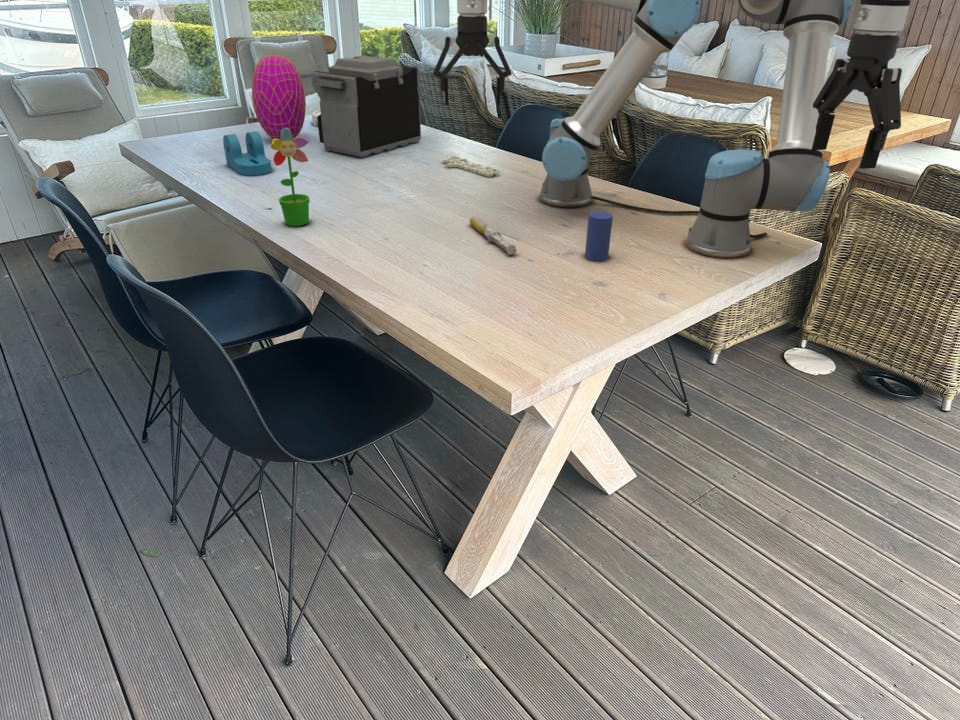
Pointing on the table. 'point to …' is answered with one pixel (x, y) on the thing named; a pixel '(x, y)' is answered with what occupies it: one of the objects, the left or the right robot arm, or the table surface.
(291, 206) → the potted flower
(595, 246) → the can
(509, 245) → the syringe
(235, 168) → the camera mount
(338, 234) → the table surface
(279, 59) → the decorative egg
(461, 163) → the decorative sign
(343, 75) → the cooler box
